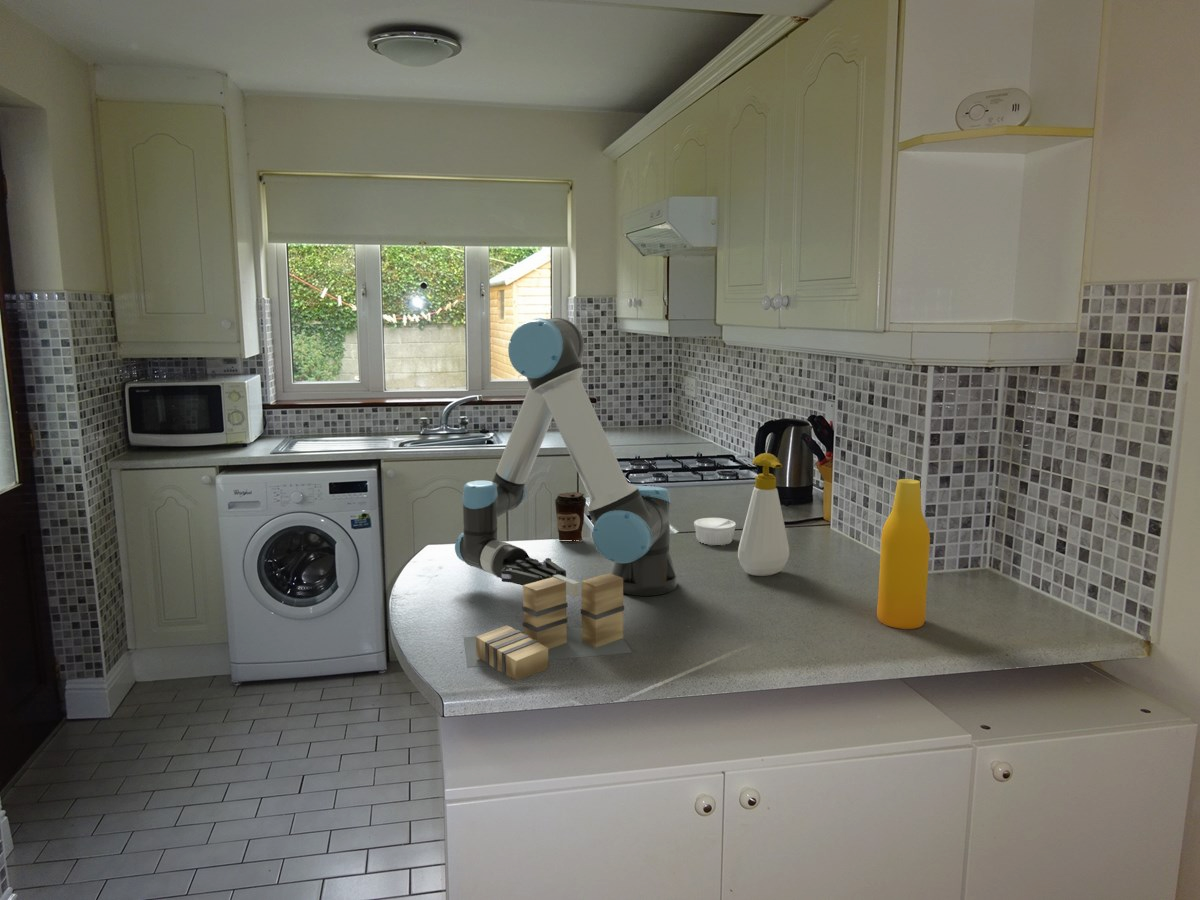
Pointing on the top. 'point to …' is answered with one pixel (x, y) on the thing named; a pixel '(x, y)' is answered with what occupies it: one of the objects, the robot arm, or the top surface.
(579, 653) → the mat
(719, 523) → the ramekin
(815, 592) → the top surface
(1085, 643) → the top surface
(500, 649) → the striped wooden block
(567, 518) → the coffee cup
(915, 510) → the beer bottle
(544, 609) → the wooden block
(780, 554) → the soap bottle
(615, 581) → the banded wooden block
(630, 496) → the robot arm
